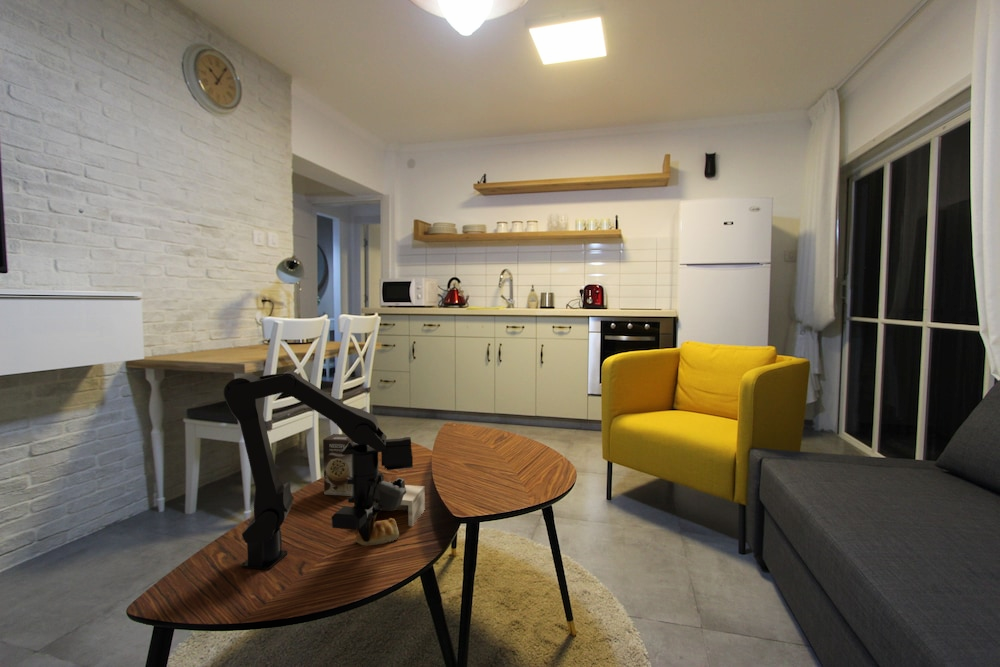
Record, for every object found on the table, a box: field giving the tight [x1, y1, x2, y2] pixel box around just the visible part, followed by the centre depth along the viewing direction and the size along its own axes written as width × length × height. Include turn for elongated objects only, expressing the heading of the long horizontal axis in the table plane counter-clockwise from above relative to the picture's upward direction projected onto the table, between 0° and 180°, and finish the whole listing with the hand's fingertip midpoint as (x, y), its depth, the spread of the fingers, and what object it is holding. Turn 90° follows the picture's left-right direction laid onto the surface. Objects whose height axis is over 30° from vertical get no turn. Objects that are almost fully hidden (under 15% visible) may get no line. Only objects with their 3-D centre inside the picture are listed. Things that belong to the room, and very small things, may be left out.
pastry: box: [355, 517, 400, 546], centre depth 103 cm, size 9×7×4 cm
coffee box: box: [322, 433, 356, 497], centre depth 130 cm, size 9×6×16 cm
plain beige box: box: [381, 484, 426, 527], centre depth 114 cm, size 9×13×6 cm
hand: (366, 541), depth 99 cm, fingers closed
